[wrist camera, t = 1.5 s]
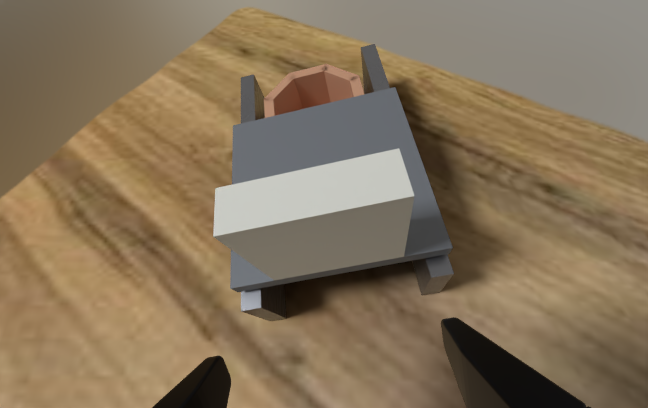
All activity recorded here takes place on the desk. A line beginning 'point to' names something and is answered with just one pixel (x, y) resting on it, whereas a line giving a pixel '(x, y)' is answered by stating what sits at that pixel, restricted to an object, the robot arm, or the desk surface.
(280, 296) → the metal rails
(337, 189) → the sliding lid
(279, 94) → the terracotta cup
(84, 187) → the desk surface
